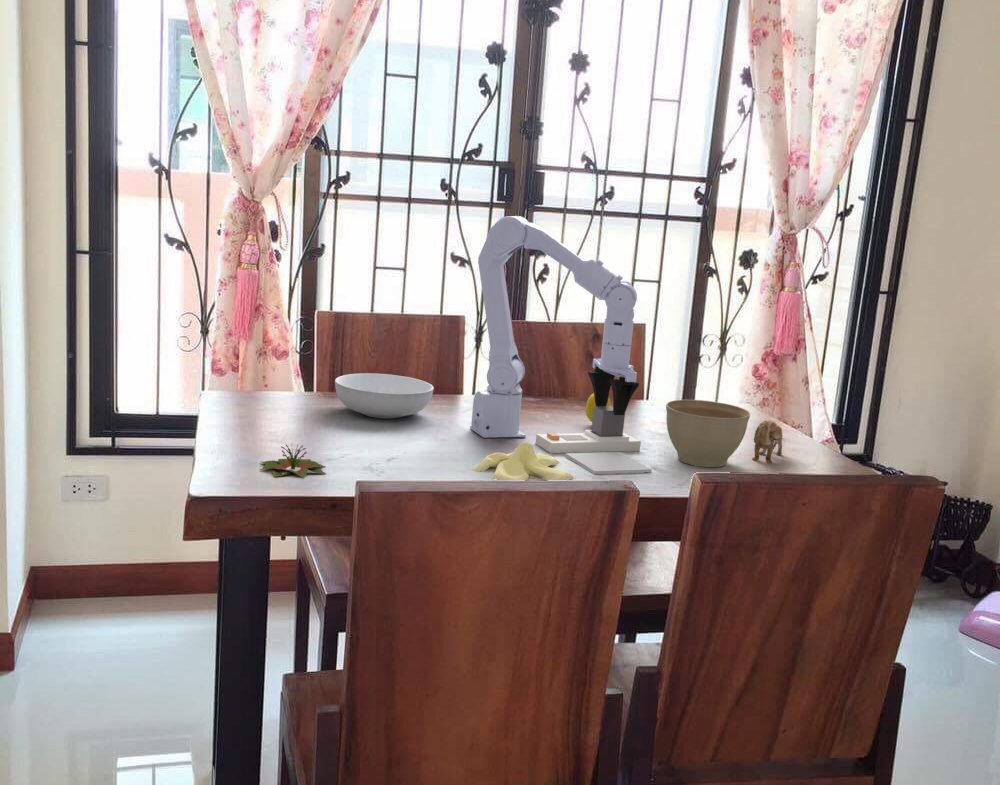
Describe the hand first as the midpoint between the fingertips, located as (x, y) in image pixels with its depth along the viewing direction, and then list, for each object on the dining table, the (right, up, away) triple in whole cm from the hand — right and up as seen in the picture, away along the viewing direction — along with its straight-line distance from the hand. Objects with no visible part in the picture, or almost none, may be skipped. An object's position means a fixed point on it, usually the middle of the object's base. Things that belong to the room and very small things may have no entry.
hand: (609, 410), depth 203 cm
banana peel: (-19, -11, -21) cm, 31 cm away
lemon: (-1, -4, +20) cm, 20 cm away
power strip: (-4, -7, 0) cm, 9 cm away
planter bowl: (+18, -10, -3) cm, 21 cm away
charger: (-1, -5, +1) cm, 6 cm away
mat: (-2, -10, -12) cm, 15 cm away
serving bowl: (-47, -1, +14) cm, 49 cm away
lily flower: (-57, -10, -32) cm, 66 cm away
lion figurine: (+33, -10, +3) cm, 34 cm away
